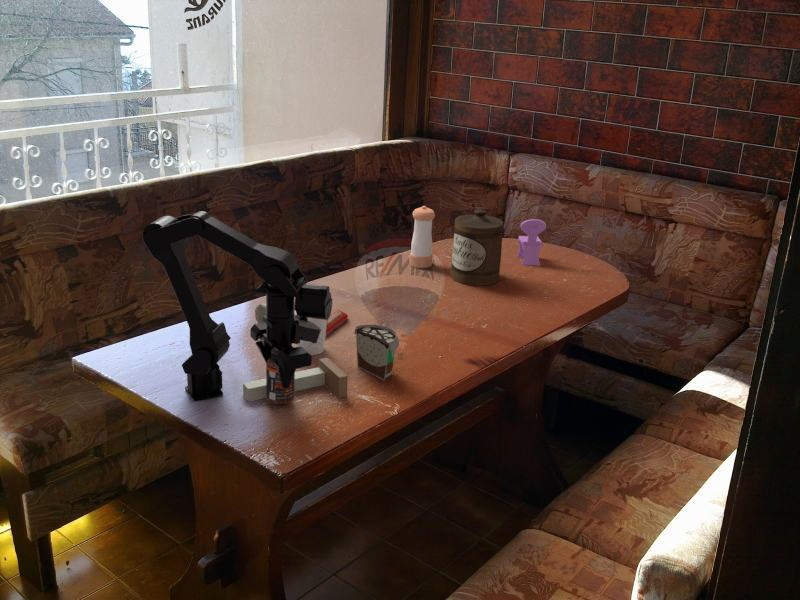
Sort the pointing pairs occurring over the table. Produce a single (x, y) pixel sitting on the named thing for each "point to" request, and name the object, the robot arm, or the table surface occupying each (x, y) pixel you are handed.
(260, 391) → the wall board
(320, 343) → the white cup
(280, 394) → the supplement bottle
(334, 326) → the candy bar
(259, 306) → the ceramic sculpture
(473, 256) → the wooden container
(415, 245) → the pepper shaker
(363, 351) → the food container
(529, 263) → the toy chair
